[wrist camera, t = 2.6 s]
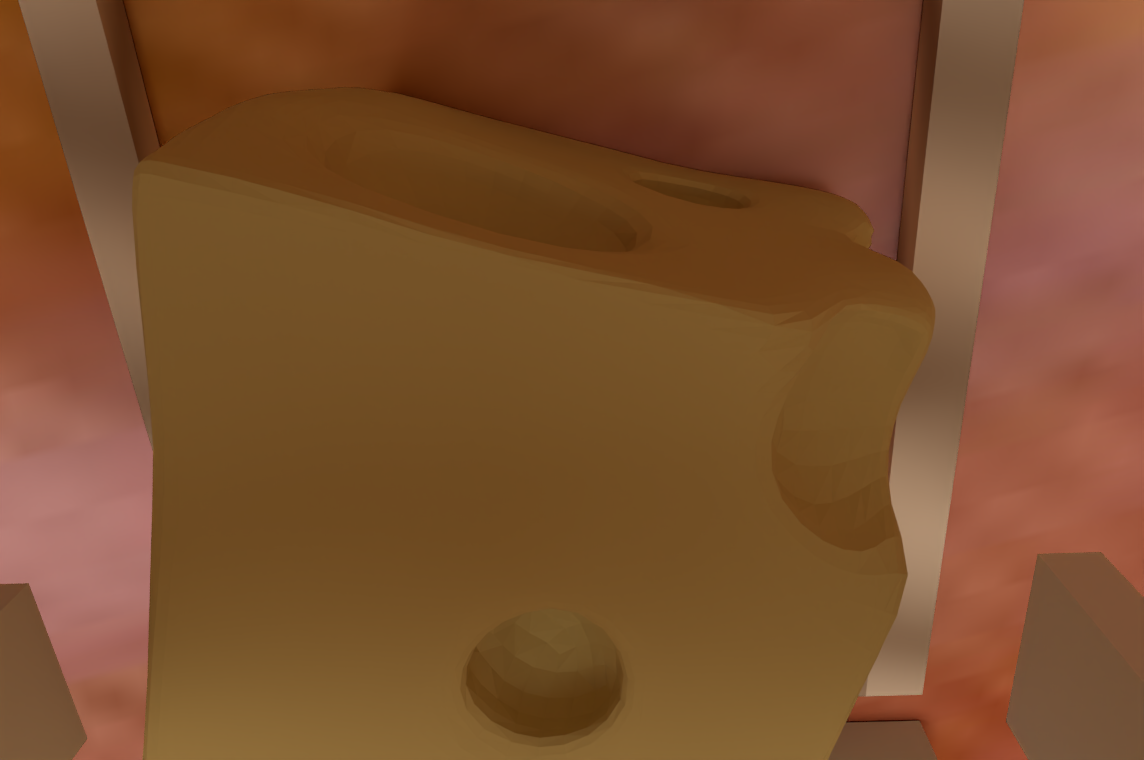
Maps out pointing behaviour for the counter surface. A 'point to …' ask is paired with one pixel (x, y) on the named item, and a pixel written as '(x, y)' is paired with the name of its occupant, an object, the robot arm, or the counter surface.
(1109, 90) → the counter surface
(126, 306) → the wooden square frame
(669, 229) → the cheese
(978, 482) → the counter surface
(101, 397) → the counter surface
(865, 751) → the plate
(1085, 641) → the robot arm
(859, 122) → the counter surface
